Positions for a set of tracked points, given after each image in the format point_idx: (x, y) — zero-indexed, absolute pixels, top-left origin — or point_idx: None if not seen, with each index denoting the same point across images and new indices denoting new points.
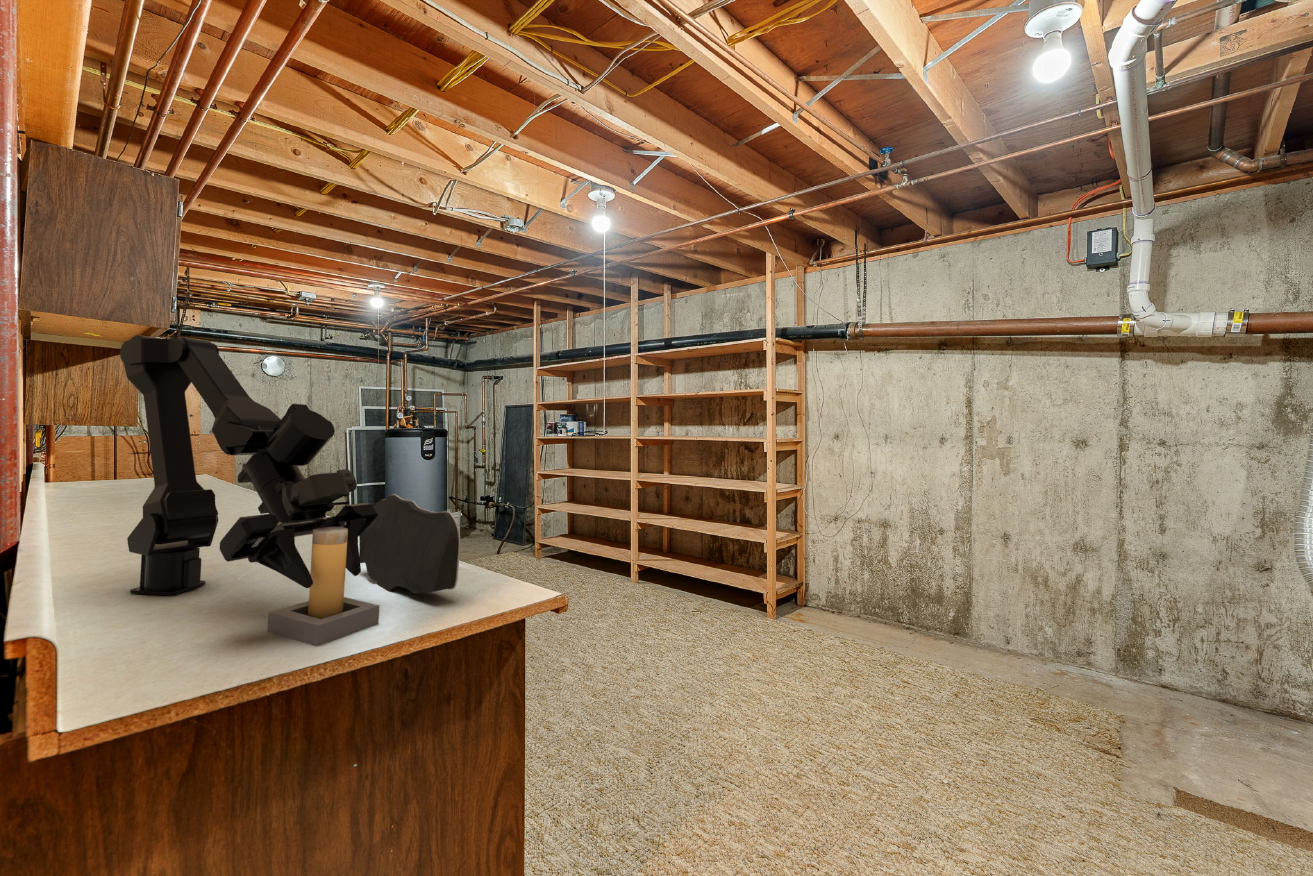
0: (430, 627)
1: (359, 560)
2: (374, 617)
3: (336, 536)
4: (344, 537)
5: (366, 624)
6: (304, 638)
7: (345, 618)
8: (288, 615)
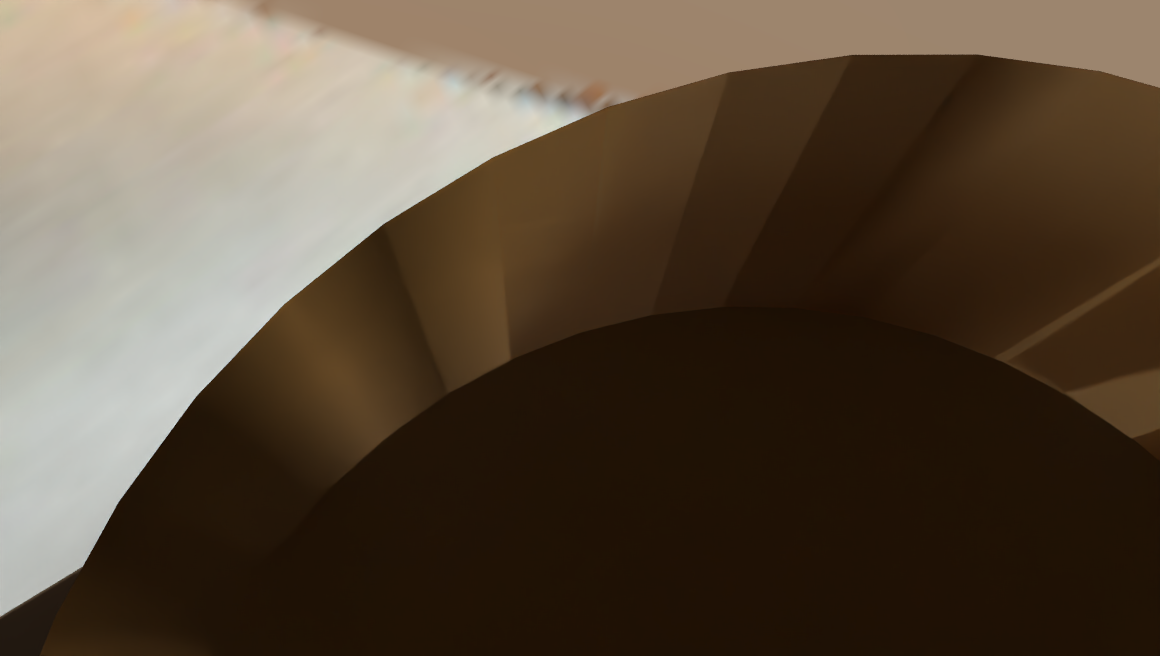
0: (186, 73)
1: (48, 590)
2: None
3: (1139, 227)
4: (668, 236)
5: None
6: None
7: None
8: None
